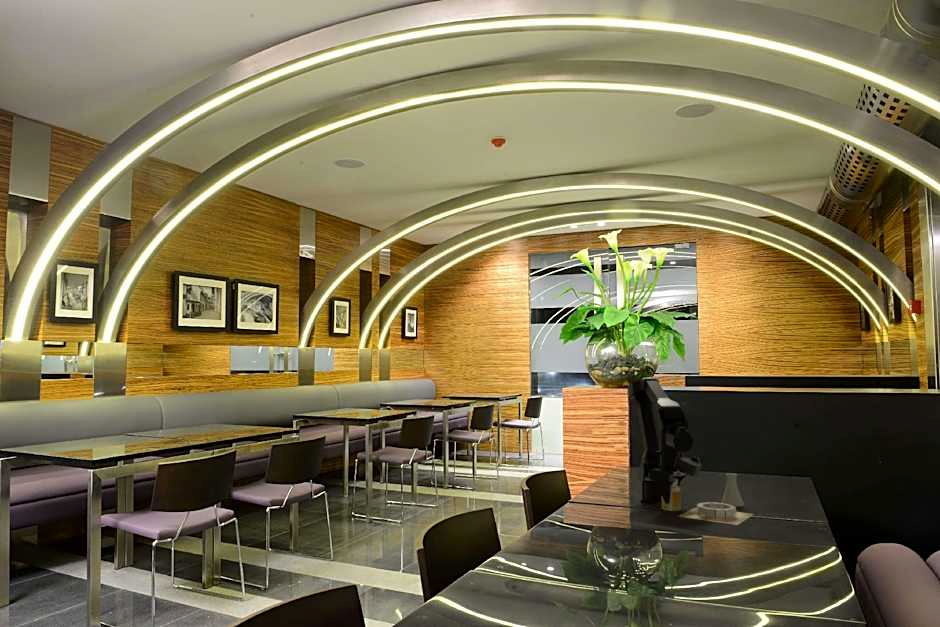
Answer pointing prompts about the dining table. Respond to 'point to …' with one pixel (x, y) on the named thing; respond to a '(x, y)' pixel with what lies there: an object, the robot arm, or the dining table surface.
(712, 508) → the steel ring collar
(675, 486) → the supplement bottle
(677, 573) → the dining table surface
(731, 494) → the flask
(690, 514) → the birch base plate
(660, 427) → the robot arm
